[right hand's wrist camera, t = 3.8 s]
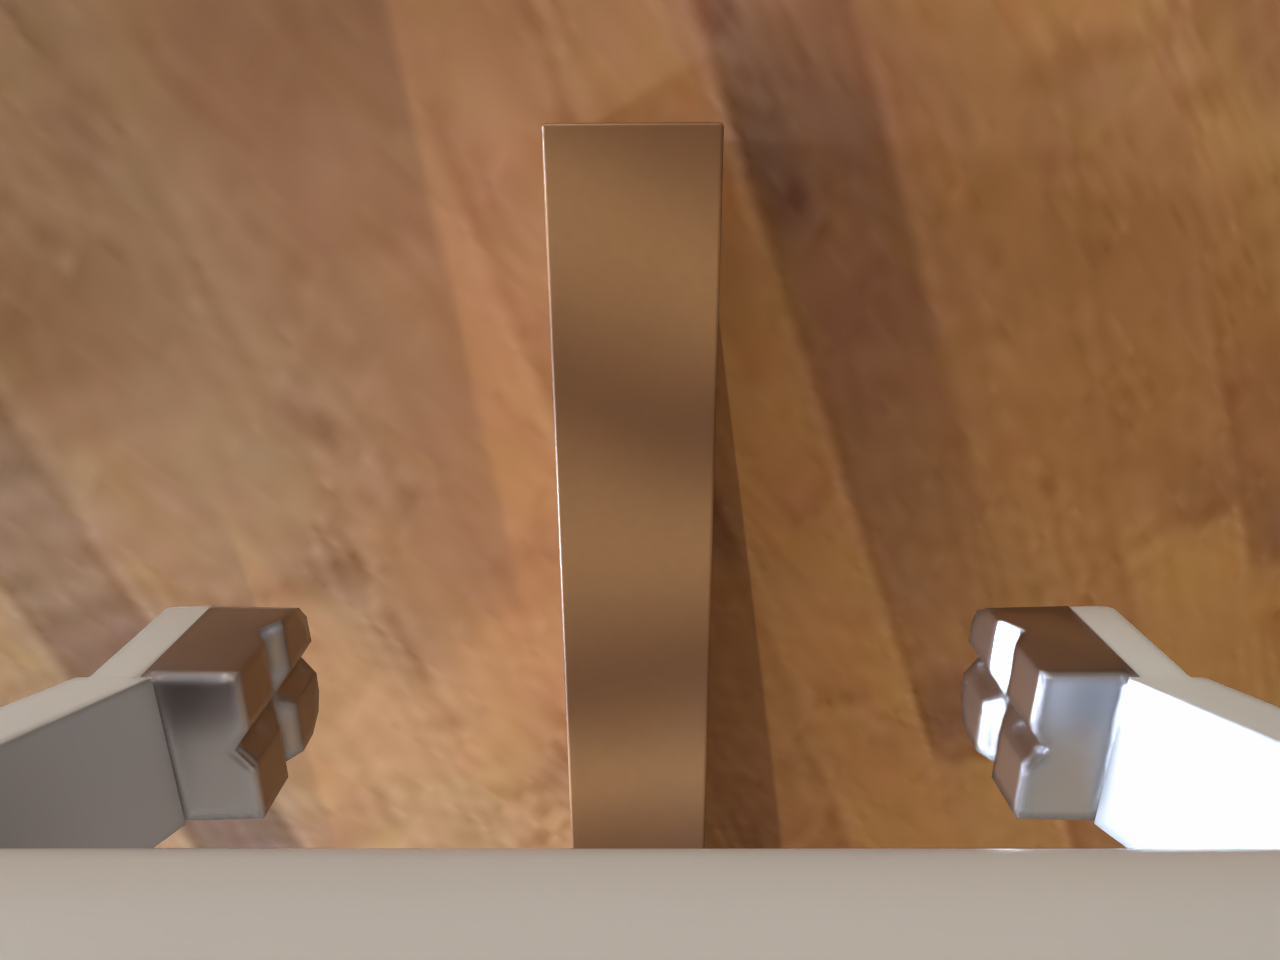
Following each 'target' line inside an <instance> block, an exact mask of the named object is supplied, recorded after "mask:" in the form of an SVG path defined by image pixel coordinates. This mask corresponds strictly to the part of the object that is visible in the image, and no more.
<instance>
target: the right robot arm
mask: <svg viewBox="0 0 1280 960" xmlns="http://www.w3.org/2000/svg"><path fill="white" fill-rule="evenodd" d="M310 642H311V637H310V632H309V627H308V622H307V617H306V616H305V614H304V613H303V612H302V611H301V610H300V609H299V608H275V607H221V606H220V607H215V606H213V605H212V606H179V607H168V608H166V609H165V610H164V611H163V612H162V613H161V614H160V615H159V616H157V617H156V618H155V619H154V620H153V621H152V622H151V623H150V624H148V625H147V626H146V627H145V628H144V629H143V630H142V631H141V632H139V633H138V634H137V635H136V636H135V637H134V638H133V639H132V640H131V641H129V642H128V643H127V644H126V645H125V646H124V647H123V648H122V649H120V650H119V651H118V652H117V653H116V654H115V655H114V656H113V657H112V658H110V659H109V660H108V661H107V662H106V663H105V664H104V665H103V666H101V667H100V668H99V669H98V670H97V671H96V672H95V673H94V674H92V675H91V676H90V677H75V678H73V679H70V680H68V681H65V682H63V683H60V684H58V685H55V686H53V687H50V688H48V689H45V690H43V691H40V692H37V693H35V694H32V695H30V696H27V697H25V698H22V699H20V700H17V701H15V702H12V703H10V704H7V705H5V706H2V707H0V960H1280V707H1277V706H1275V705H1272V704H1270V703H1267V702H1265V701H1262V700H1260V699H1257V698H1255V697H1252V696H1250V695H1247V694H1245V693H1242V692H1240V691H1237V690H1235V689H1232V688H1230V687H1227V686H1225V685H1222V684H1220V683H1217V682H1215V681H1212V680H1210V679H1207V678H1205V677H1190V676H1189V675H1188V674H1186V673H1185V672H1184V671H1183V670H1182V669H1181V668H1180V667H1179V666H1178V665H1176V664H1175V663H1174V662H1173V661H1172V660H1171V659H1170V658H1169V657H1168V656H1166V655H1165V654H1164V653H1163V652H1162V651H1161V650H1160V649H1159V648H1157V647H1156V646H1155V645H1154V644H1153V643H1152V642H1151V641H1150V640H1149V639H1147V638H1146V637H1145V636H1144V635H1143V634H1142V633H1141V632H1140V631H1139V630H1137V629H1136V628H1135V627H1134V626H1133V625H1132V624H1131V623H1130V622H1128V621H1127V620H1126V619H1125V618H1124V617H1123V616H1122V615H1121V614H1120V613H1118V612H1117V611H1116V610H1115V609H1114V608H1110V607H1107V606H1103V605H1099V606H1077V607H1068V606H1056V607H1014V608H986V609H980V610H977V612H976V614H975V617H974V619H973V621H972V625H971V631H970V637H969V642H970V644H971V645H972V647H973V648H974V650H975V651H976V653H977V655H978V656H979V657H978V659H977V660H976V661H975V662H974V663H973V664H972V665H971V666H970V667H969V668H968V669H967V670H966V671H965V672H964V675H963V683H962V692H961V704H962V714H963V721H964V724H965V727H966V731H967V734H968V736H969V738H970V740H971V742H972V744H973V745H974V747H975V749H976V751H978V752H979V753H981V754H983V755H984V756H986V757H987V758H989V759H991V760H992V761H994V767H993V773H992V778H993V780H994V781H995V783H996V785H997V786H998V788H999V790H1000V791H1001V793H1002V795H1003V796H1004V798H1005V800H1006V801H1007V803H1008V805H1009V806H1010V808H1011V810H1012V811H1013V813H1014V815H1015V816H1016V818H1026V819H1062V820H1095V822H1094V824H1095V825H1097V826H1098V827H1099V828H1101V829H1102V830H1103V831H1105V832H1106V833H1107V834H1109V835H1110V836H1111V837H1113V838H1114V839H1116V840H1117V841H1118V842H1120V843H1121V844H1122V845H1124V846H1125V847H1126V848H1128V849H520V848H519V849H517V848H154V847H155V846H157V845H158V844H159V843H161V842H162V841H163V840H165V839H166V838H167V837H169V836H170V835H172V834H173V833H174V832H176V831H177V830H178V829H180V828H181V827H182V826H184V825H185V820H216V819H252V818H264V816H265V815H266V813H267V811H268V810H269V808H270V806H271V805H272V803H273V801H274V800H275V798H276V796H277V795H278V793H279V791H280V790H281V788H282V786H283V785H284V783H285V781H286V780H287V778H288V773H287V767H286V761H288V760H289V759H291V758H293V757H294V756H296V755H297V754H299V753H301V752H302V751H304V749H305V747H306V745H307V743H308V742H309V740H310V738H311V736H312V734H313V731H314V727H315V723H316V719H317V715H318V709H319V689H318V682H317V674H316V672H315V671H314V670H313V669H312V668H311V667H310V666H309V665H308V664H307V663H306V662H305V661H304V660H303V659H302V657H301V656H302V655H303V653H304V651H305V650H306V648H307V647H308V645H309V644H310Z"/></svg>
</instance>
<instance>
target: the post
mask: <svg viewBox="0 0 1280 960" xmlns="http://www.w3.org/2000/svg"><path fill="white" fill-rule="evenodd" d="M541 128H542V151H543V175H544V199H545V222H546V246H547V270H548V293H549V317H550V341H551V364H552V388H553V412H554V435H555V459H556V483H557V506H558V530H559V553H560V577H561V601H562V624H563V648H564V672H565V695H566V719H567V743H568V766H569V790H570V814H571V837H572V849H704V838H705V801H706V764H707V727H708V690H709V653H710V616H711V580H712V543H713V506H714V469H715V432H716V395H717V358H718V321H719V284H720V247H721V210H722V174H723V137H724V126H723V123H720V122H685V123H545V124H542V127H541Z"/></svg>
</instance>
